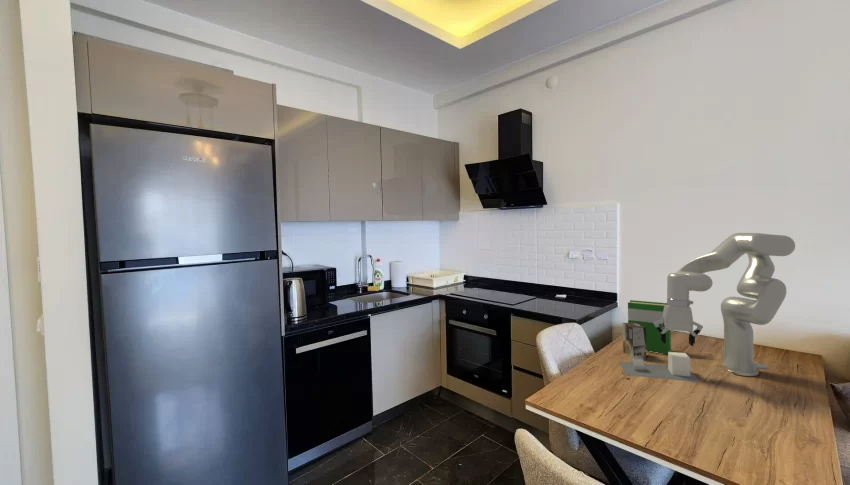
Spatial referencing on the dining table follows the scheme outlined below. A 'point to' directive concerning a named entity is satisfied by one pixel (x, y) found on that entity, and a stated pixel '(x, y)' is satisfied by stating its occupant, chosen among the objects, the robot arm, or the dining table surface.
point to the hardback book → (650, 323)
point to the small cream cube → (679, 364)
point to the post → (638, 363)
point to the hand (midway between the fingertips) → (677, 343)
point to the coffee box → (634, 339)
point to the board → (655, 372)
